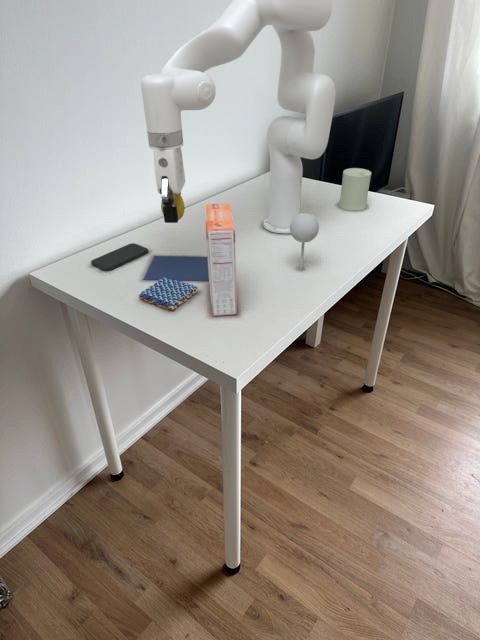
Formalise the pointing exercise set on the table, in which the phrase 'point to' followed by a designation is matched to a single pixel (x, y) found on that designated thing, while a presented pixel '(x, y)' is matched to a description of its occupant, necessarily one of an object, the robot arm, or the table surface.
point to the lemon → (177, 204)
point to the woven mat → (168, 293)
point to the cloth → (178, 268)
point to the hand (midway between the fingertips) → (173, 216)
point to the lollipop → (304, 230)
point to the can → (355, 189)
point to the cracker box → (221, 259)
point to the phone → (119, 256)
